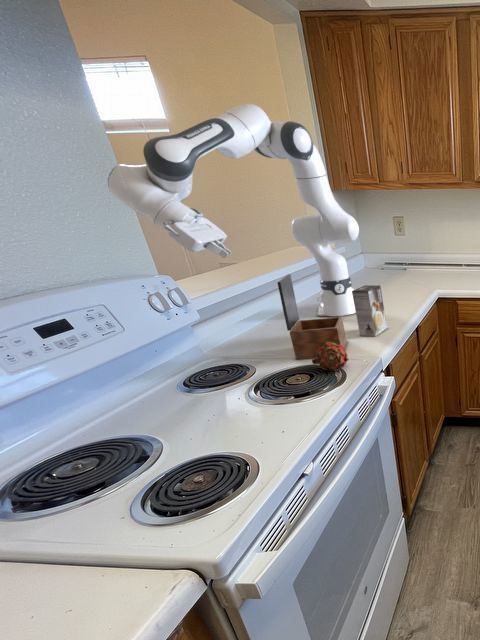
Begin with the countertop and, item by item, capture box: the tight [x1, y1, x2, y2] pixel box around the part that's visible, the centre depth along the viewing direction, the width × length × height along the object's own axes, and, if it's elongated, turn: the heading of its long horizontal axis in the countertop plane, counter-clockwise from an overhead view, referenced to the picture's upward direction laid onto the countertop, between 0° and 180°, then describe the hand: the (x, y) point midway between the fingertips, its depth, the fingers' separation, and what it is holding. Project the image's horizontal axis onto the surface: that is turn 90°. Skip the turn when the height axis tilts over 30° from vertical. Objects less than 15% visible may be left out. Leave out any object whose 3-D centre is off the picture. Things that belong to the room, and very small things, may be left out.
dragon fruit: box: [311, 342, 350, 372], centre depth 118 cm, size 8×8×12 cm
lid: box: [277, 273, 300, 332], centre depth 126 cm, size 14×13×1 cm
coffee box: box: [352, 284, 388, 337], centre depth 147 cm, size 9×6×16 cm
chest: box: [289, 316, 348, 360], centre depth 133 cm, size 14×13×9 cm
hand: (228, 255), depth 118 cm, fingers closed
